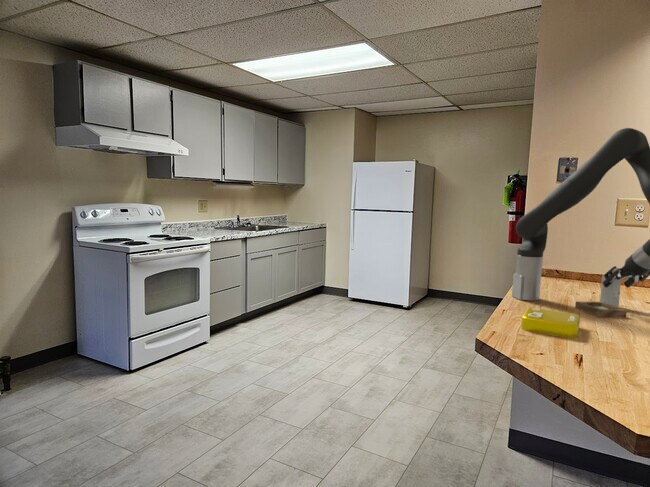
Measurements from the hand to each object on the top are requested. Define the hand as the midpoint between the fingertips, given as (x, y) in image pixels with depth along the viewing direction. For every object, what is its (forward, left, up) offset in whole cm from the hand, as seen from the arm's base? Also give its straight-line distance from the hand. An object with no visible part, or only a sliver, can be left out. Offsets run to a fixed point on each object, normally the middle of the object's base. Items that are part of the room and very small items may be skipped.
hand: (615, 285), depth 158 cm
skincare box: (0, +2, -9) cm, 9 cm away
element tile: (-40, -23, -9) cm, 46 cm away
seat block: (-10, -6, -9) cm, 14 cm away
